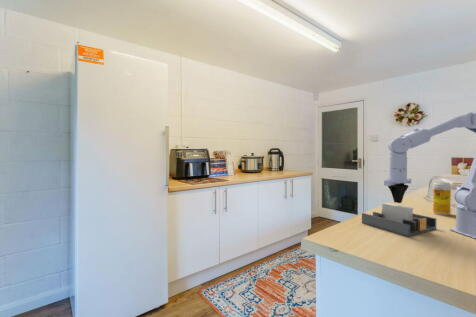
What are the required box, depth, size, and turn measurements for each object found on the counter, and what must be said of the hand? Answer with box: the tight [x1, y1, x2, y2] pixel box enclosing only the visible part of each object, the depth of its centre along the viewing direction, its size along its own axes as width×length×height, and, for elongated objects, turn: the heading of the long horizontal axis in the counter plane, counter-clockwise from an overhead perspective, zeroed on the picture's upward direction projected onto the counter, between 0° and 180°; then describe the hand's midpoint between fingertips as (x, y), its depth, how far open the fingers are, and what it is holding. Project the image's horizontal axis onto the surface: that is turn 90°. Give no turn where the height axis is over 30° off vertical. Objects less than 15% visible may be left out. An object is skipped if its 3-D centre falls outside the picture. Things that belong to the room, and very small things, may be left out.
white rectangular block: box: [381, 202, 414, 223], centre depth 94 cm, size 10×3×7 cm, turn 26°
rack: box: [361, 211, 437, 238], centre depth 94 cm, size 18×18×5 cm
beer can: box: [432, 181, 452, 216], centre depth 110 cm, size 6×6×15 cm
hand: (397, 202), depth 94 cm, fingers closed
